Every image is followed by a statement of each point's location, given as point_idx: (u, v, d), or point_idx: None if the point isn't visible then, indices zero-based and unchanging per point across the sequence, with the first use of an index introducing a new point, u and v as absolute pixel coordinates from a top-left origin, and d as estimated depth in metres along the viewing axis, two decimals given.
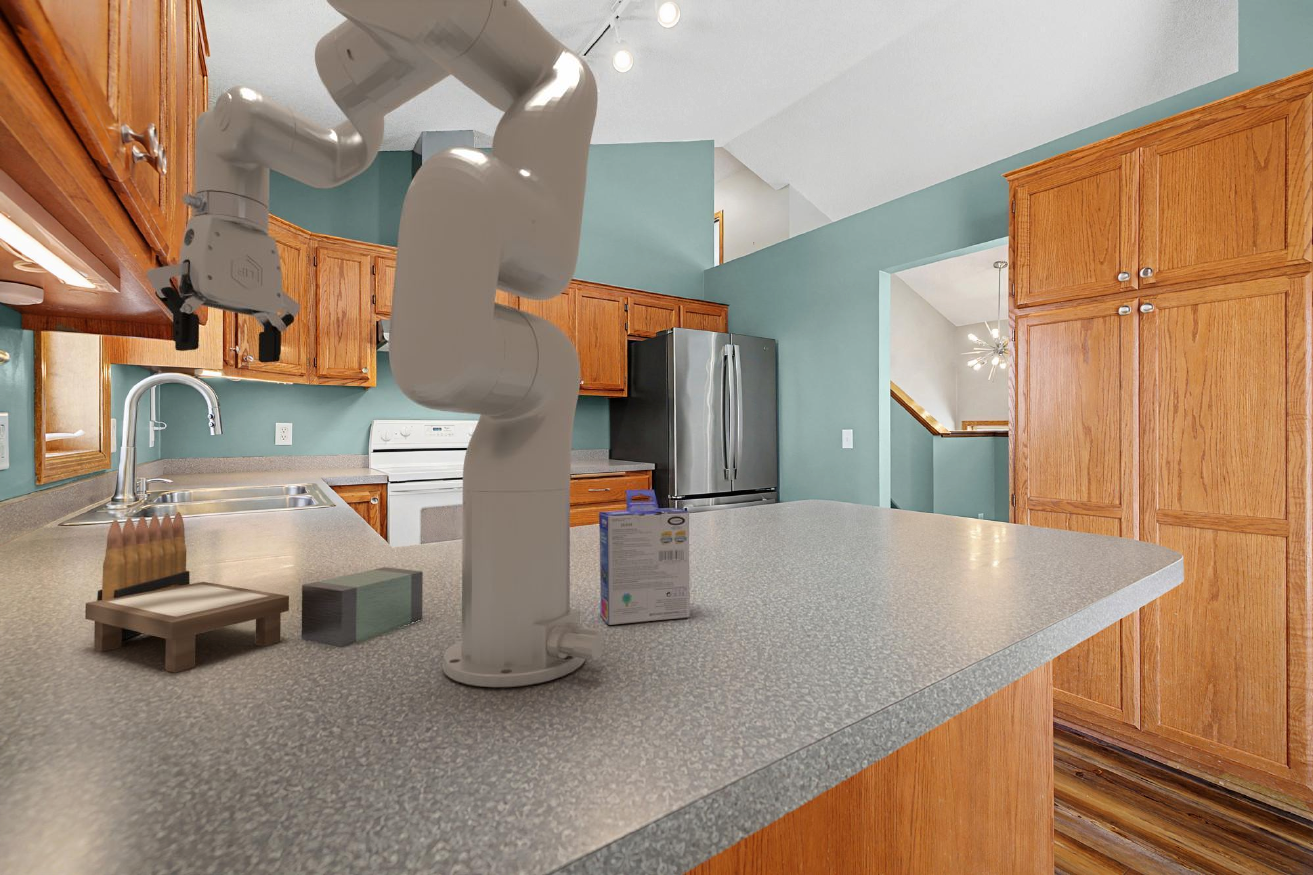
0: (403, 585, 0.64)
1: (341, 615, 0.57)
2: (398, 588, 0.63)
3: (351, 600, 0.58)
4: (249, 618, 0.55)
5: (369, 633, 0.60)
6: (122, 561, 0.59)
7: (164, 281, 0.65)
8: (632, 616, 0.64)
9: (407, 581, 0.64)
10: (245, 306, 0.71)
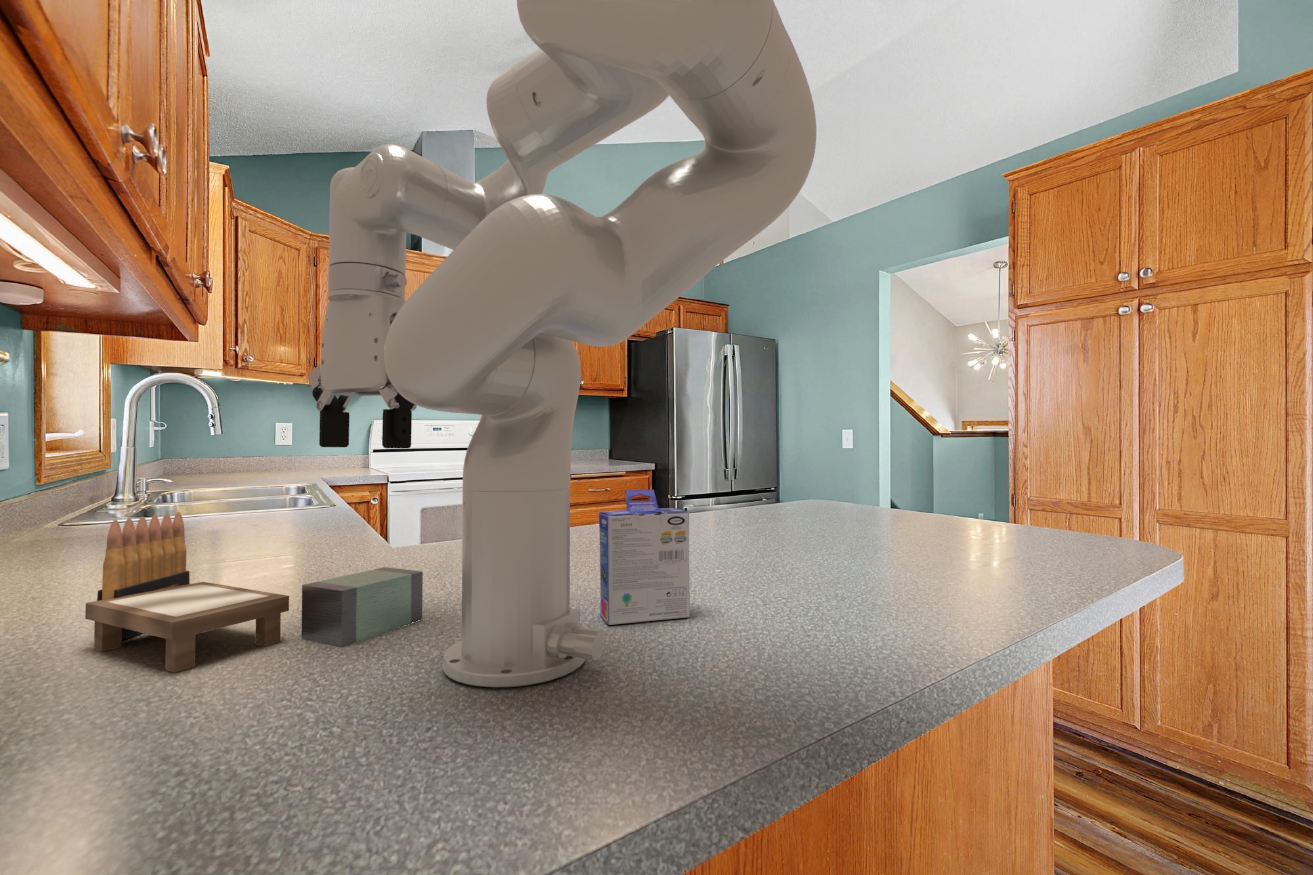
0: (403, 585, 0.64)
1: (341, 615, 0.57)
2: (398, 588, 0.63)
3: (351, 600, 0.58)
4: (249, 618, 0.55)
5: (369, 633, 0.60)
6: (122, 561, 0.59)
7: None
8: (632, 616, 0.64)
9: (407, 581, 0.64)
10: None
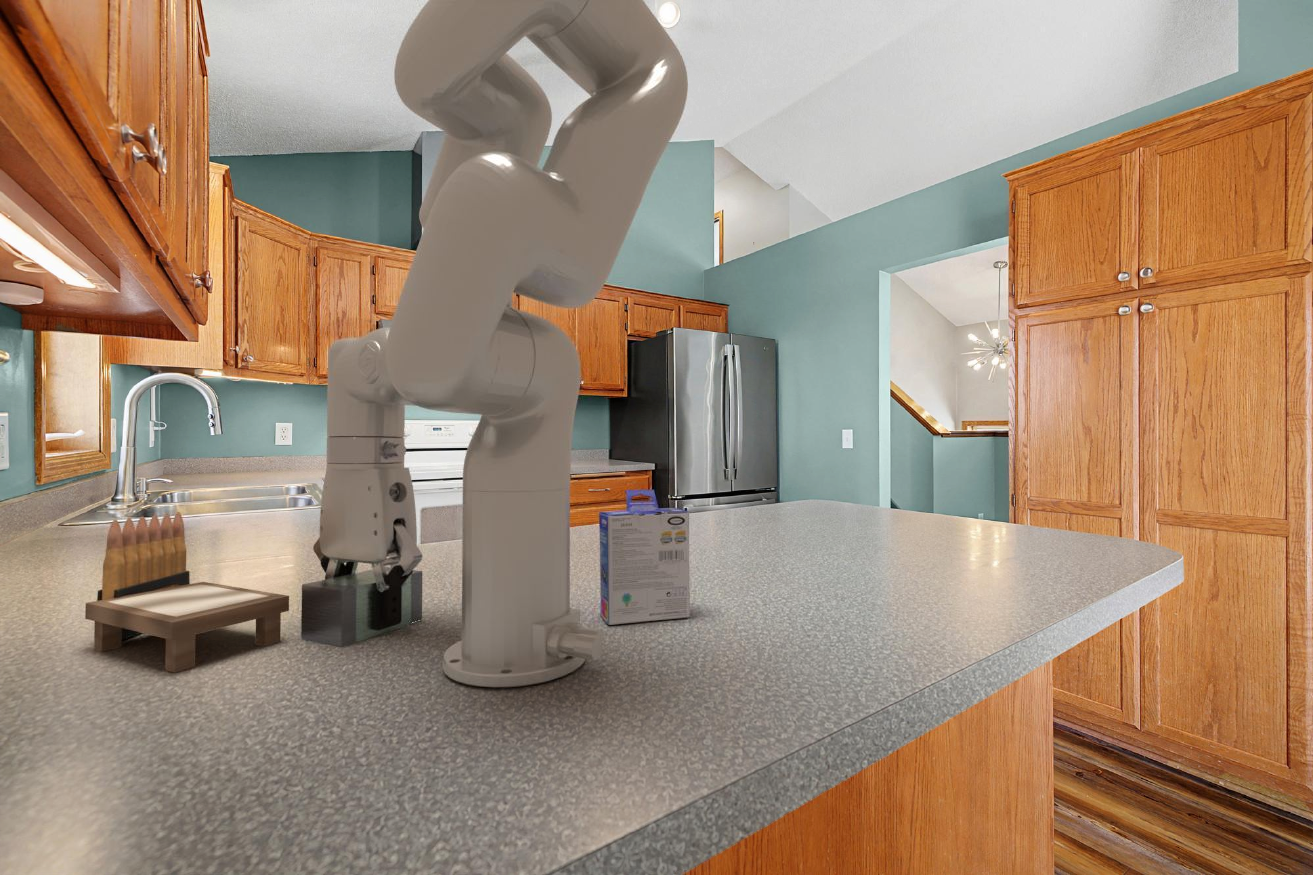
0: None
1: (341, 614, 0.57)
2: None
3: (351, 600, 0.58)
4: (249, 618, 0.55)
5: (369, 633, 0.60)
6: (122, 561, 0.59)
7: None
8: (632, 616, 0.64)
9: (407, 580, 0.64)
10: None
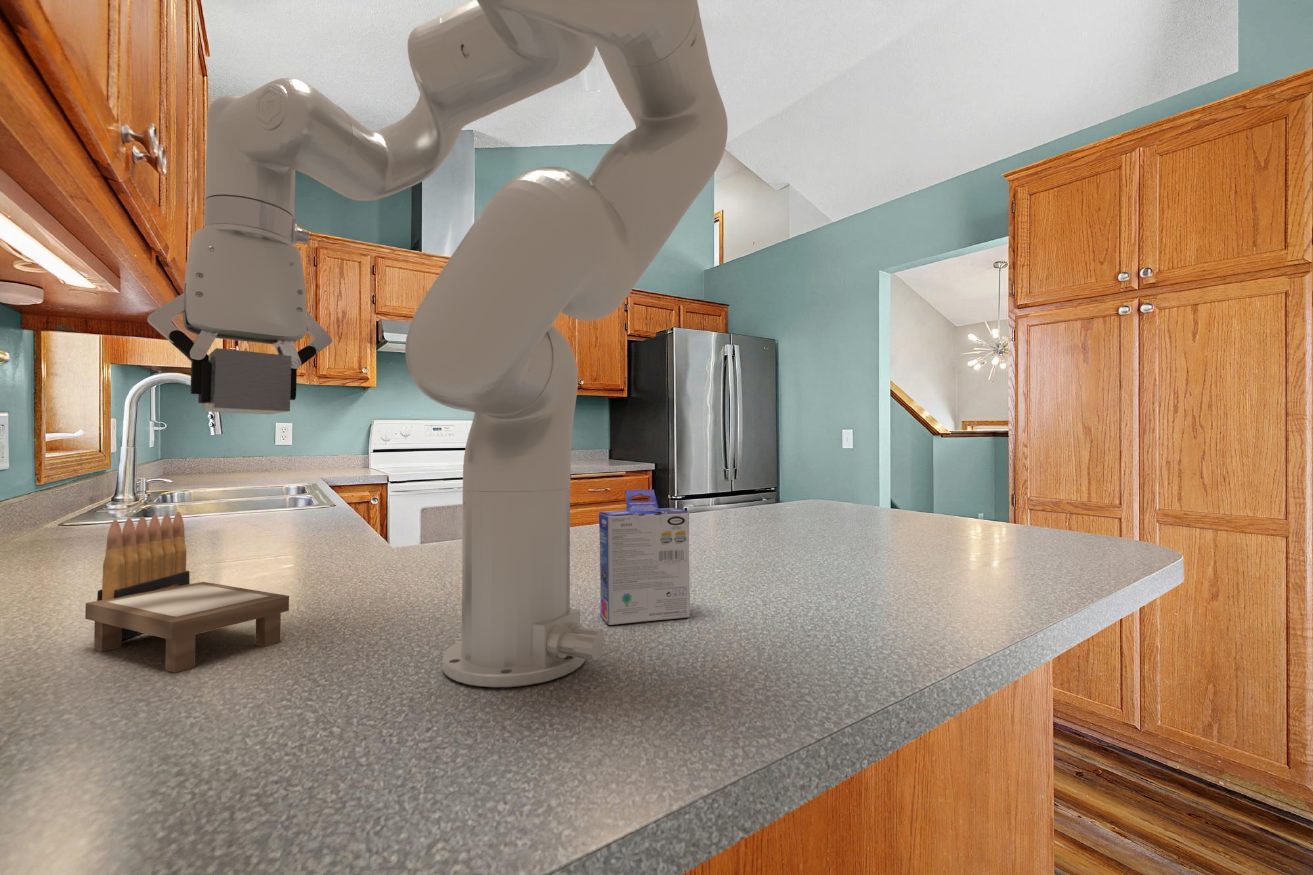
0: None
1: (290, 379, 0.58)
2: None
3: None
4: (249, 618, 0.55)
5: None
6: (122, 561, 0.59)
7: None
8: (632, 616, 0.64)
9: None
10: None
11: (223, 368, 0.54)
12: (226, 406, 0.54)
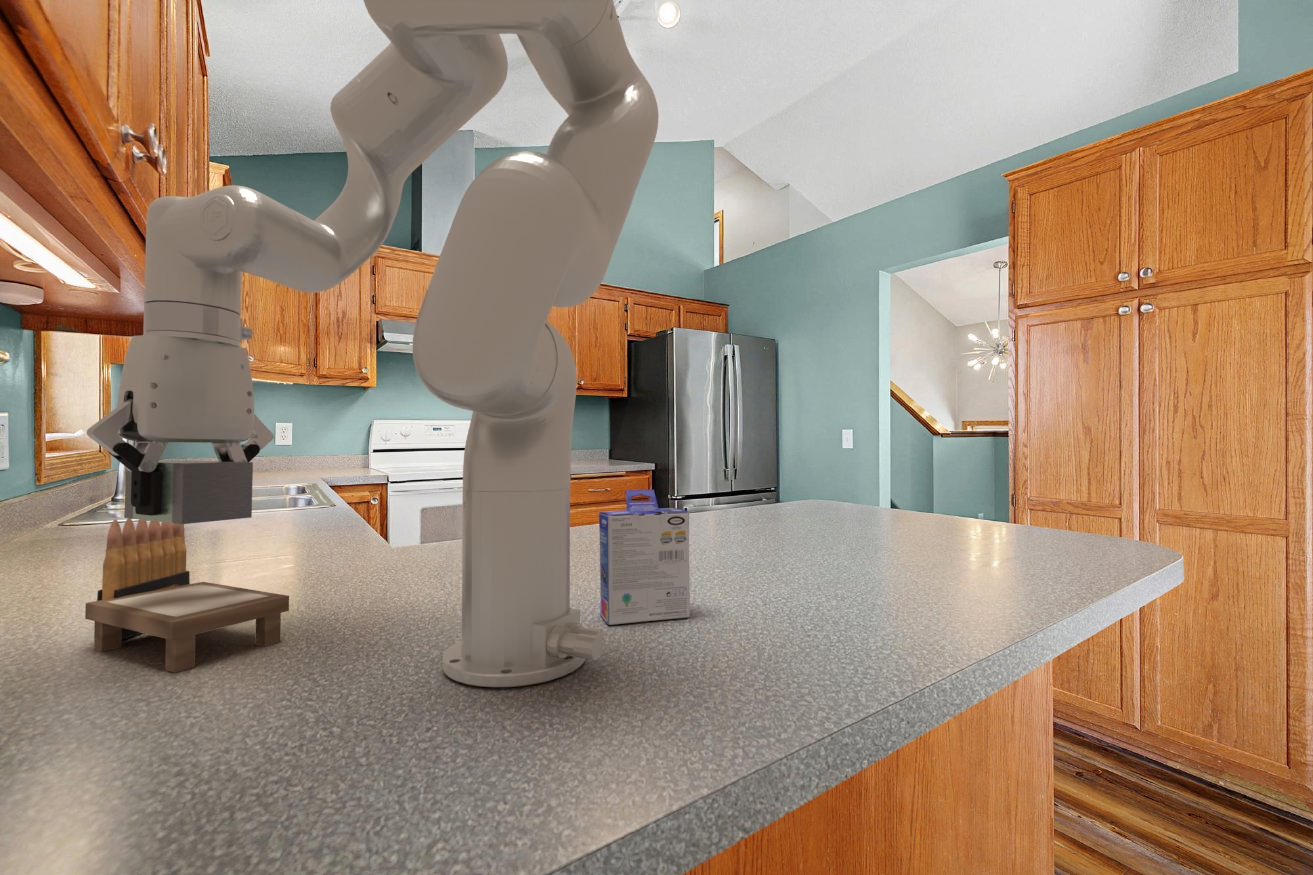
0: None
1: (251, 486, 0.58)
2: None
3: None
4: (249, 618, 0.55)
5: None
6: (122, 561, 0.59)
7: None
8: (632, 616, 0.64)
9: None
10: None
11: (190, 483, 0.53)
12: (193, 521, 0.54)
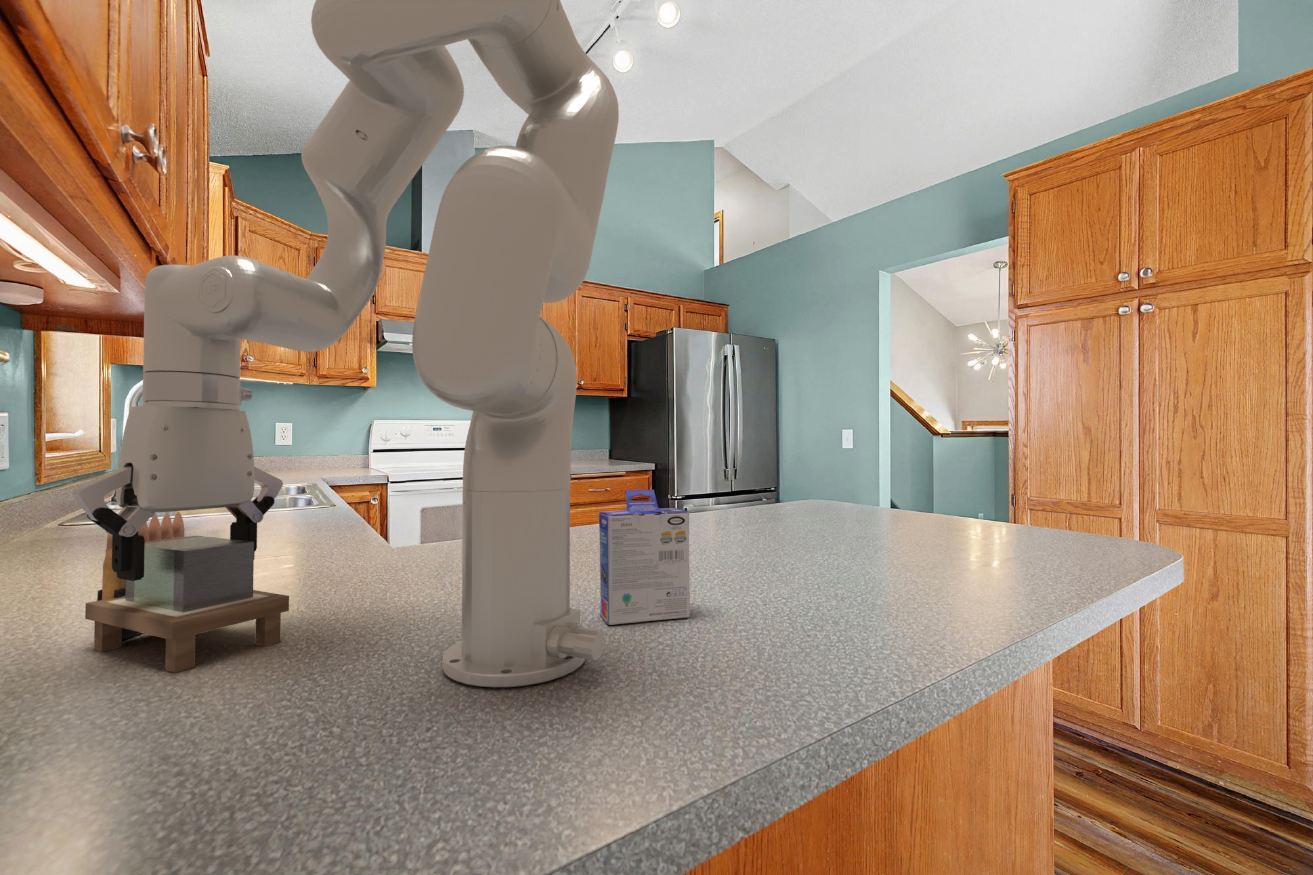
0: None
1: (253, 565, 0.58)
2: None
3: None
4: (249, 618, 0.55)
5: None
6: None
7: None
8: (632, 616, 0.64)
9: None
10: None
11: (191, 570, 0.53)
12: (194, 608, 0.53)
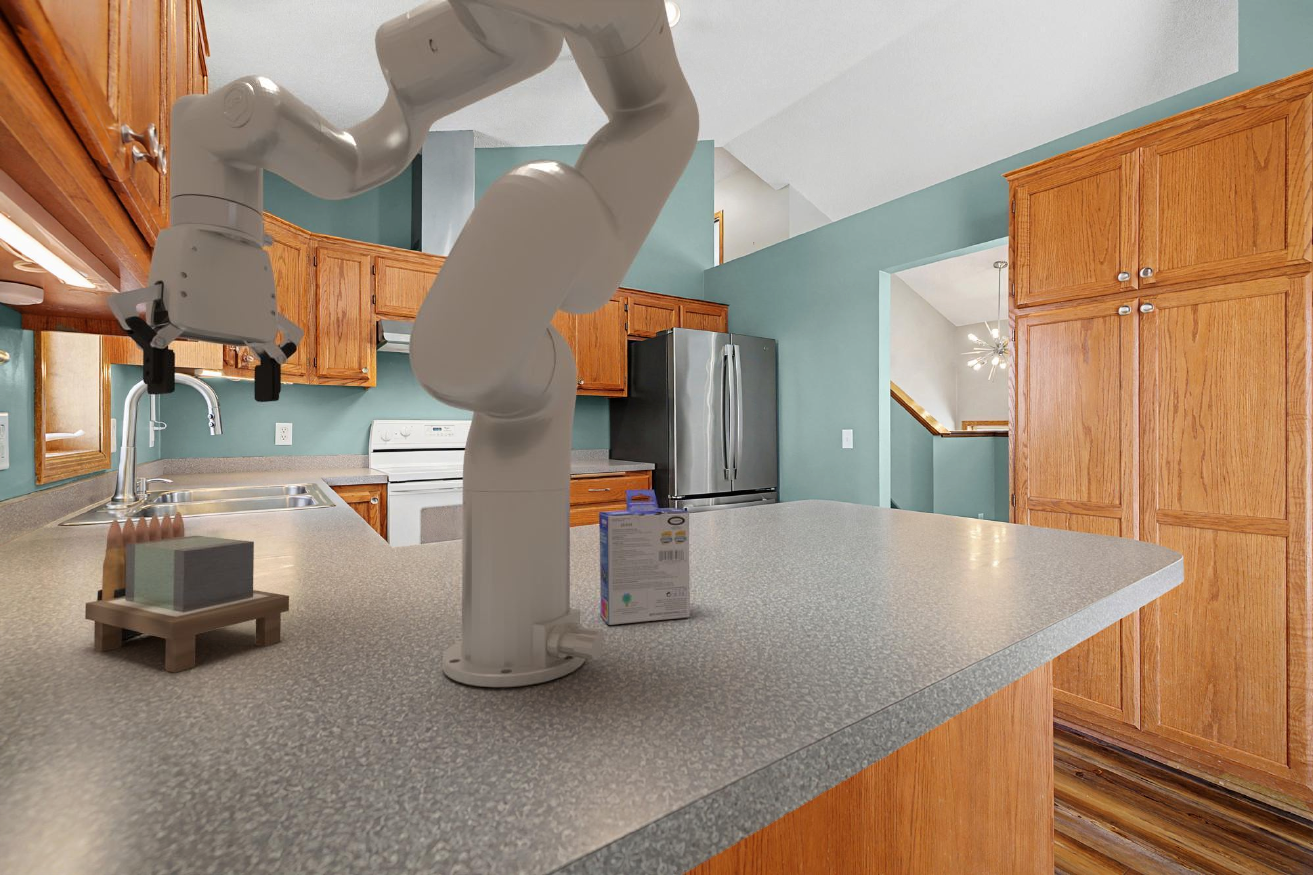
0: None
1: (253, 565, 0.58)
2: None
3: None
4: (249, 618, 0.55)
5: None
6: (122, 561, 0.59)
7: None
8: (632, 616, 0.64)
9: None
10: (202, 340, 0.60)
11: (191, 570, 0.53)
12: (194, 608, 0.53)
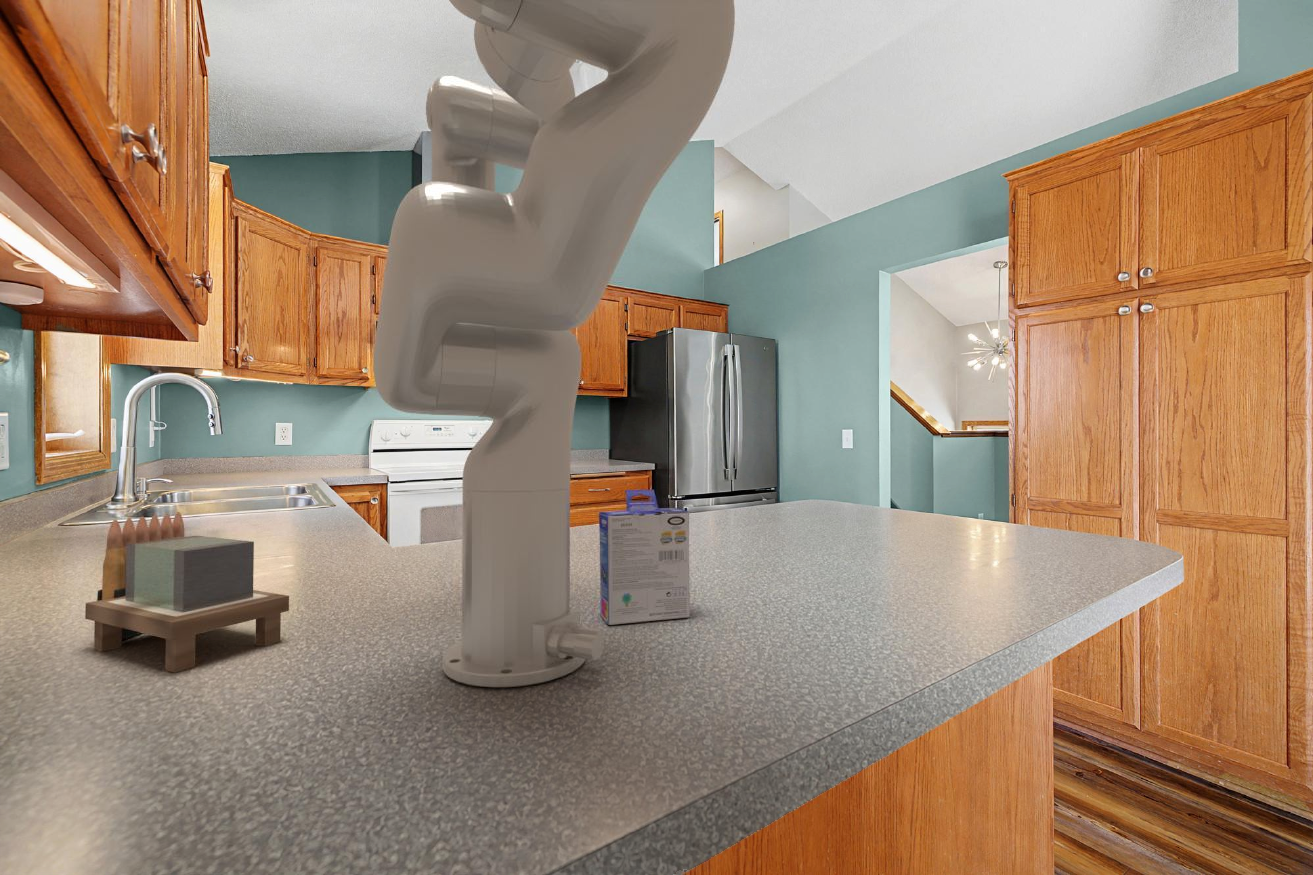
0: None
1: (253, 565, 0.58)
2: None
3: None
4: (249, 618, 0.55)
5: None
6: (122, 561, 0.59)
7: None
8: (632, 616, 0.64)
9: None
10: None
11: (191, 570, 0.53)
12: (194, 608, 0.53)
